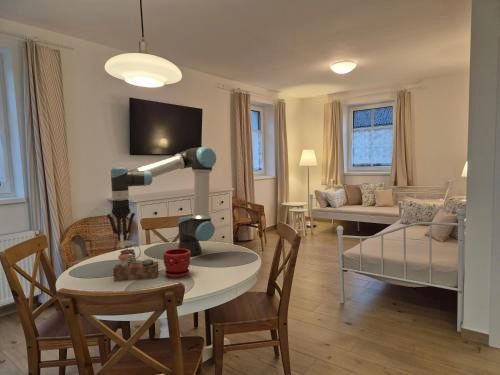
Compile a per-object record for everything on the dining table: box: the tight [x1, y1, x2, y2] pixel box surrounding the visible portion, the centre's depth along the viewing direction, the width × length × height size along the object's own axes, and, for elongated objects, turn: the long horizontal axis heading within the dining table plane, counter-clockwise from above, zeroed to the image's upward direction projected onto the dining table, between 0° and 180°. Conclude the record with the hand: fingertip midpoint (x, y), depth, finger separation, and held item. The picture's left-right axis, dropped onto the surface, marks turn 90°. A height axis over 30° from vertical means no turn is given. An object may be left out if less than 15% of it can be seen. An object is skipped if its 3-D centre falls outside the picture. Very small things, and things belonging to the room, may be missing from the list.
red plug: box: [118, 254, 131, 267], centre depth 157 cm, size 5×5×7 cm
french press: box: [118, 222, 142, 264], centre depth 171 cm, size 10×12×25 cm
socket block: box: [112, 261, 159, 282], centre depth 158 cm, size 20×7×6 cm, turn 100°
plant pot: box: [163, 248, 192, 278], centre depth 160 cm, size 13×13×12 cm
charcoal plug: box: [141, 258, 154, 266], centre depth 159 cm, size 5×5×7 cm
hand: (122, 247), depth 156 cm, fingers closed
